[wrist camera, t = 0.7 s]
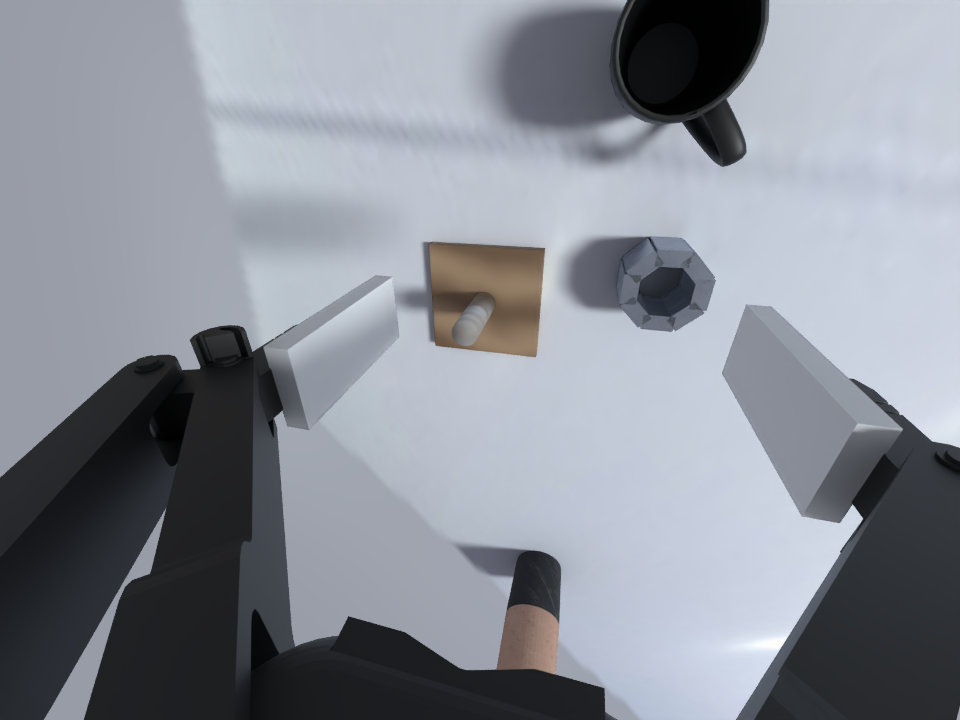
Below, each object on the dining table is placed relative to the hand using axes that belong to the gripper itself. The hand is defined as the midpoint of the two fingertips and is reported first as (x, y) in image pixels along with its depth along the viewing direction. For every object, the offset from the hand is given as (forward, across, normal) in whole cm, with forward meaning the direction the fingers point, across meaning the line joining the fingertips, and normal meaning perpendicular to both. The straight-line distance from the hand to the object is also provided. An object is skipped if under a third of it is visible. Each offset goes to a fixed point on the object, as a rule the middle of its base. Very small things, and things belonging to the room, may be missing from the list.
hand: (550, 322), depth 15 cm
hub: (+26, +8, -5) cm, 28 cm away
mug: (+26, +6, +10) cm, 29 cm away
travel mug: (+26, +1, -54) cm, 60 cm away
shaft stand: (+26, -8, -9) cm, 29 cm away
